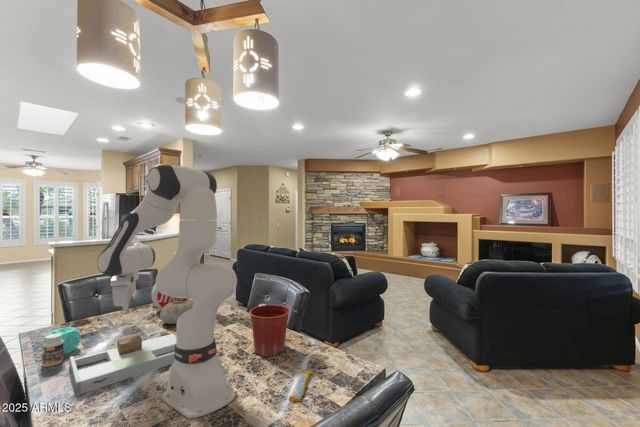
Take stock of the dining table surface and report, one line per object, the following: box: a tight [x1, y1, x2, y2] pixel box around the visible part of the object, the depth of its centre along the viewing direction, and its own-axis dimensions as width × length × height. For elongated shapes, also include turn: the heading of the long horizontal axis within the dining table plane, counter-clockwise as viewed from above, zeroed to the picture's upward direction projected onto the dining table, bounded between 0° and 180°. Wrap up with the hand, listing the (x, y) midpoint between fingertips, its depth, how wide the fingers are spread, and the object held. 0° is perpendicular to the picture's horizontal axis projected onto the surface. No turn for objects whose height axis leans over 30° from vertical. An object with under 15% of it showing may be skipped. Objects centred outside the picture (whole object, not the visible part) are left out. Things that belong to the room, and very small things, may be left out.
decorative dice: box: [42, 326, 81, 355], centre depth 113 cm, size 8×8×8 cm
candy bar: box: [288, 369, 313, 402], centre depth 92 cm, size 17×4×2 cm, turn 171°
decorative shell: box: [159, 300, 193, 325], centre depth 146 cm, size 18×18×10 cm
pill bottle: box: [41, 333, 65, 367], centre depth 104 cm, size 6×6×10 cm
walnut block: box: [116, 333, 143, 355], centre depth 110 cm, size 7×7×4 cm
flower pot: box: [248, 304, 291, 358], centre depth 117 cm, size 16×16×16 cm
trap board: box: [69, 333, 176, 396], centre depth 105 cm, size 22×34×4 cm, turn 135°
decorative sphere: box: [150, 282, 189, 310], centre depth 165 cm, size 20×20×20 cm
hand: (126, 309), depth 115 cm, fingers closed
